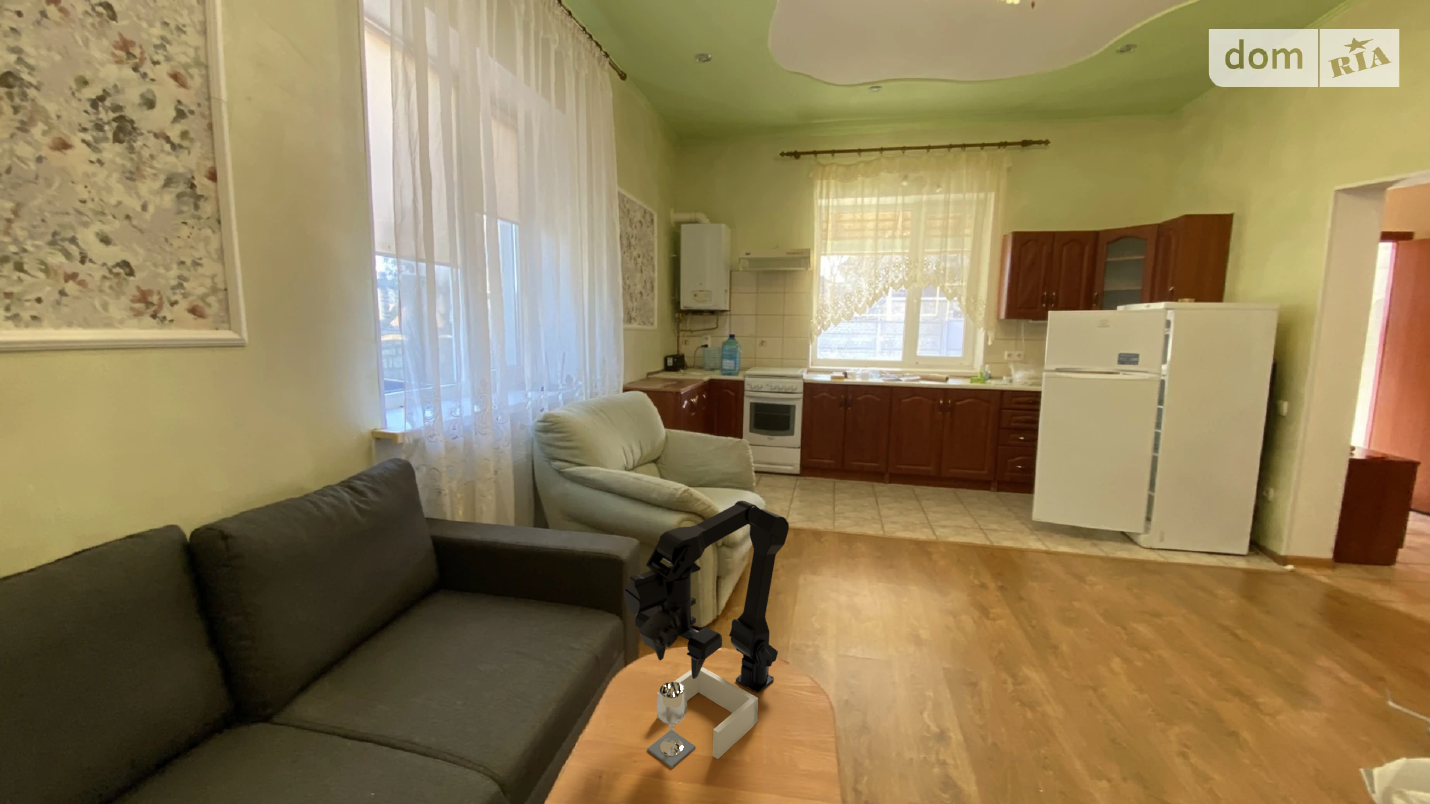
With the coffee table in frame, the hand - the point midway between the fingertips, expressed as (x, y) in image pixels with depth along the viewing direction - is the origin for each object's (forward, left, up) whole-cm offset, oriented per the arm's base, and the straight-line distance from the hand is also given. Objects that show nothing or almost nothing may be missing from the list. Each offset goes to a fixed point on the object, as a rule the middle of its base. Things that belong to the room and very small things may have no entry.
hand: (677, 668), depth 109 cm
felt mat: (+6, +4, -12) cm, 14 cm away
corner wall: (-5, +4, -12) cm, 14 cm away
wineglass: (+6, +4, -12) cm, 14 cm away
